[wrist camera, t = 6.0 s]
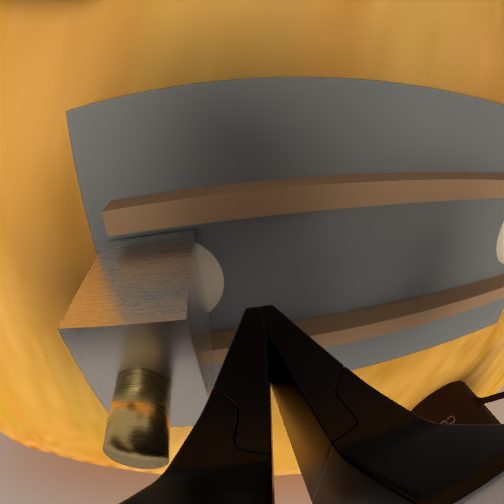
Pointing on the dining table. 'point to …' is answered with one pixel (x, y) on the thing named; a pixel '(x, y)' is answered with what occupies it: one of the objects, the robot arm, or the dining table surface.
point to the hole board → (312, 203)
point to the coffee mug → (457, 406)
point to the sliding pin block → (143, 342)
